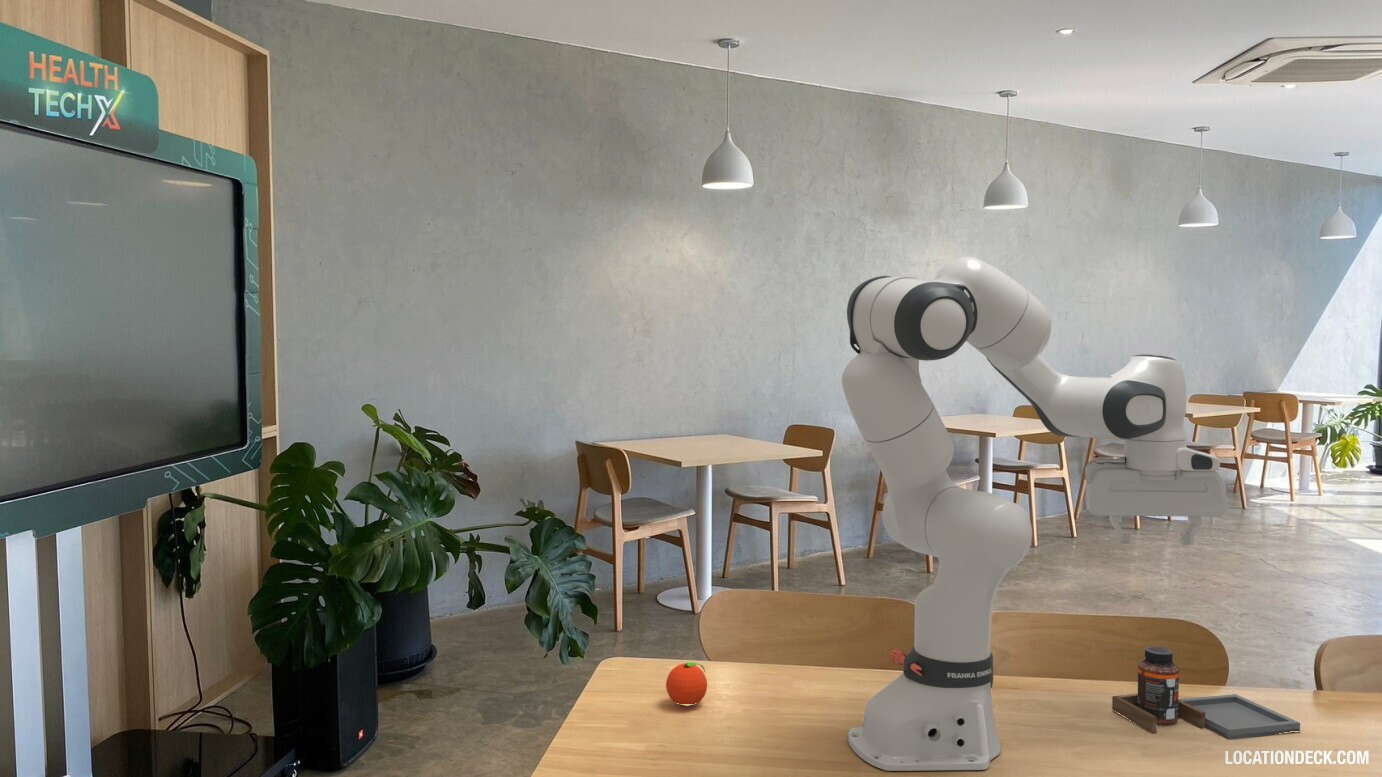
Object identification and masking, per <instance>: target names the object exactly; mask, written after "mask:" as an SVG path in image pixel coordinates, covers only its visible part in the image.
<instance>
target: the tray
mask: <svg viewBox="0 0 1382 777" xmlns="http://www.w3.org/2000/svg"><path fill="white" fill-rule="evenodd" d="M1178 699H1179V700H1181V701H1183V702H1185V703H1187V704H1189V705H1191V706H1193V707H1195V708H1197V709H1199V710H1202V711H1204V712H1205V728H1204V729H1207V730H1209V731H1212V732H1213V733H1215V734H1217V735H1219V736H1221V737H1223V738H1225V739H1227V740H1238V739H1248V738H1256V737H1257V738H1259V737H1265V736H1266V737H1268V736H1276V735H1275V734H1278V735H1280V734H1279V733H1284V732H1290V731H1300V732H1301V722H1299V721H1297V720H1295V719H1293V718H1290V717H1288V716H1286V715H1283V714H1282V713H1279V712H1276V711H1274V710H1272V709H1271V708H1268V707H1266V706H1263V705H1261V704H1259V703H1256V702H1254V701H1252V700H1249V699H1247V698H1245V697H1243V696H1241V695H1238V694H1236V693H1234V694H1233V693H1232V694H1223V695H1212V696H1200V697H1191V698H1190V697H1188V698H1187V697H1186V698H1178Z"/></svg>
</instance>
